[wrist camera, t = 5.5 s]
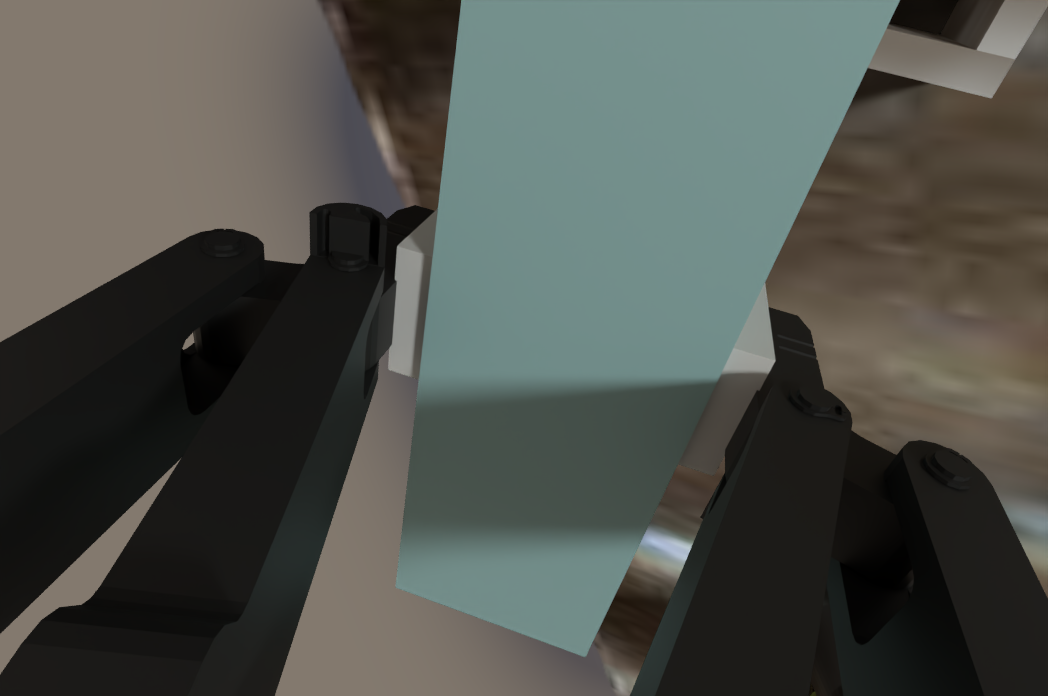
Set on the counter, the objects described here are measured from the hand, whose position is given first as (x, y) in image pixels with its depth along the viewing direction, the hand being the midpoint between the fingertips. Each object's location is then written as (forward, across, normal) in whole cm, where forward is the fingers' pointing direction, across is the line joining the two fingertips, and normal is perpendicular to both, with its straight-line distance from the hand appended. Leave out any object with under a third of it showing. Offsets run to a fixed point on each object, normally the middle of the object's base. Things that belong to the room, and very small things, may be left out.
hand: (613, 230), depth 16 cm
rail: (+6, 0, 0) cm, 6 cm away
